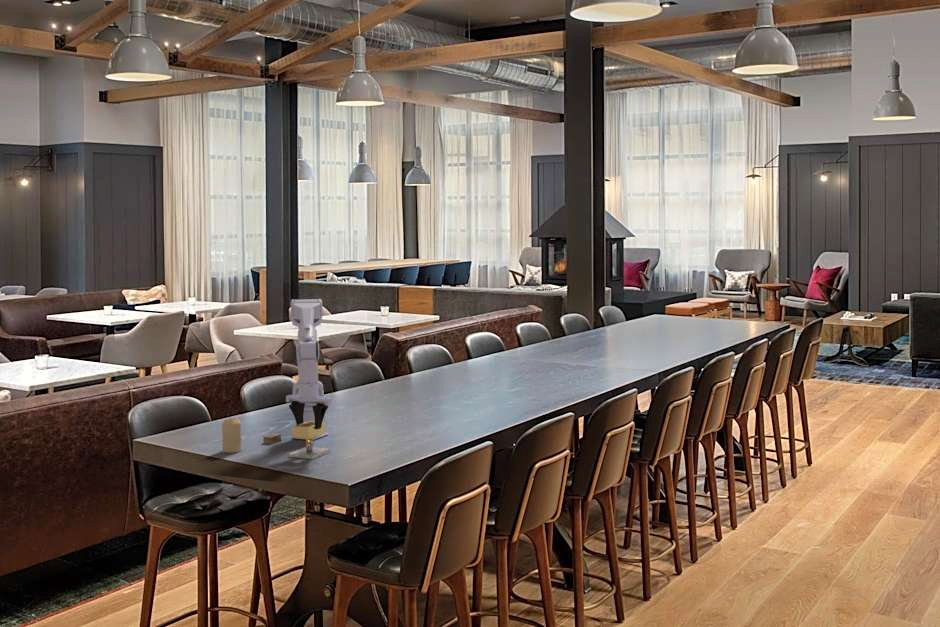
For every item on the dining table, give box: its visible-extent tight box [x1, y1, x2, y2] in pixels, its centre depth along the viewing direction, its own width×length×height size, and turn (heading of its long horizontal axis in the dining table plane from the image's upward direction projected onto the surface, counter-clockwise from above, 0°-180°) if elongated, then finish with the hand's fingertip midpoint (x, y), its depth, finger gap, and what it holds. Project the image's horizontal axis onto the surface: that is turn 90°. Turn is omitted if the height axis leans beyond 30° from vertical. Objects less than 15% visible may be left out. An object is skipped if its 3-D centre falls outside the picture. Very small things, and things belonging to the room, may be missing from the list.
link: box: [291, 421, 325, 440], centre depth 298 cm, size 9×6×3 cm, turn 157°
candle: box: [221, 417, 242, 454], centre depth 303 cm, size 6×6×10 cm
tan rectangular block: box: [262, 433, 282, 445], centre depth 316 cm, size 5×3×2 cm, turn 156°
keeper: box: [288, 439, 331, 460], centre depth 298 cm, size 10×8×4 cm
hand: (309, 427), depth 298 cm, fingers closed on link, 6 cm apart
